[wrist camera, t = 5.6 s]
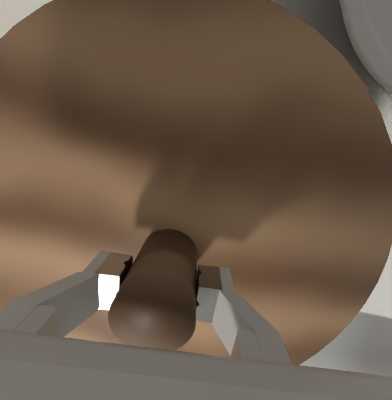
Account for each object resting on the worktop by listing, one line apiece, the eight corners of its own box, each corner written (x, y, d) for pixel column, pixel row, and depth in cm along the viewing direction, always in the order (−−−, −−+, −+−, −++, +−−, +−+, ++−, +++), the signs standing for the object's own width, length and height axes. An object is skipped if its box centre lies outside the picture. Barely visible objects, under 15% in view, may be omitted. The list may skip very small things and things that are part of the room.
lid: (-97, -59, 8) (-577, -381, 3) (478, 40, 9) (849, -92, 4) (-3, 364, 15) (-100, 470, 10) (305, 399, 16) (353, 516, 11)
